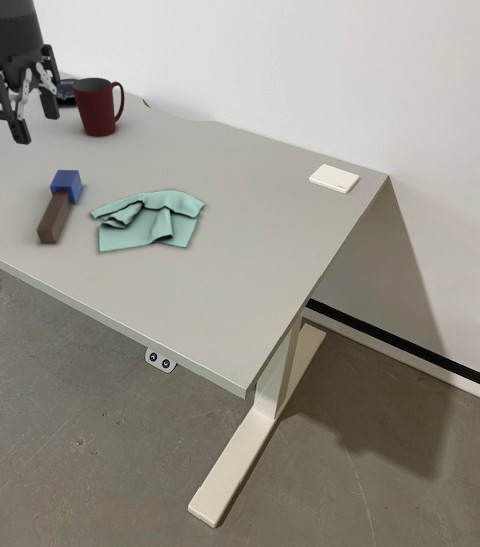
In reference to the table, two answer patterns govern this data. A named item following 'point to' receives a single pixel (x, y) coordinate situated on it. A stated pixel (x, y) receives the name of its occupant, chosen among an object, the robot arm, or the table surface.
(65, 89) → the electronic device
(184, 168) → the table surface
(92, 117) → the mug
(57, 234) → the brush
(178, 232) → the cloth
